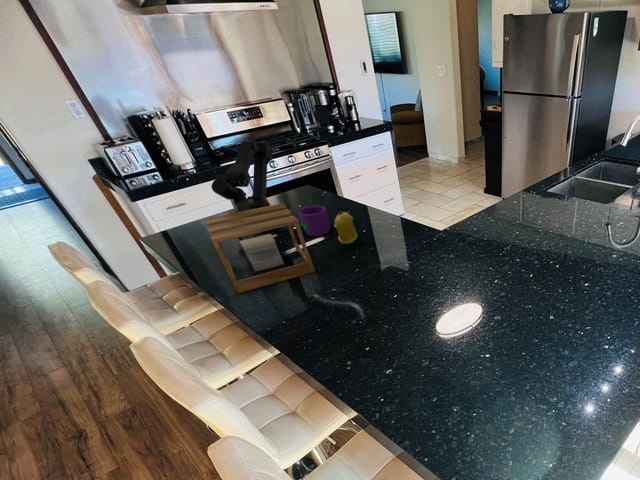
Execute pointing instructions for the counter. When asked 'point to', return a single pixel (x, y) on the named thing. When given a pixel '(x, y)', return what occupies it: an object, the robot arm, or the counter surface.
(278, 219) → the shoe rack
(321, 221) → the mug
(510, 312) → the counter surface
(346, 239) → the yellow rounded lump
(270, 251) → the grey lidded shoebox
